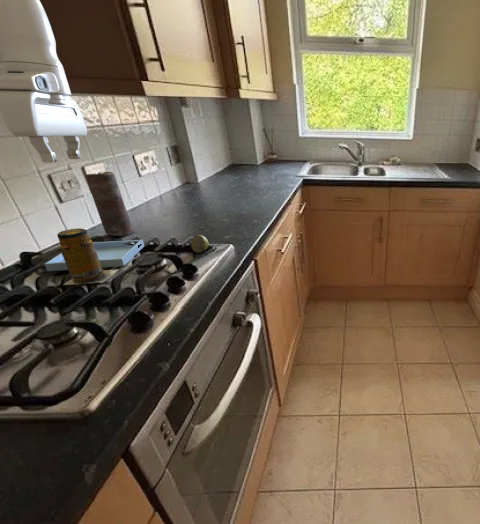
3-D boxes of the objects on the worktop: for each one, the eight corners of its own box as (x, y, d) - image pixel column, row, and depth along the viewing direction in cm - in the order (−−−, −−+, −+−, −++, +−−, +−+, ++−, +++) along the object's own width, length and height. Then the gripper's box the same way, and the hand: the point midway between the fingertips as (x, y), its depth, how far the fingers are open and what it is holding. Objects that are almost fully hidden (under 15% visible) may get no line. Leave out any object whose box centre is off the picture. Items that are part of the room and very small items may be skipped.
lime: (209, 253, 96) (205, 237, 94) (190, 254, 95) (187, 238, 93) (211, 247, 100) (208, 232, 98) (193, 249, 99) (190, 233, 96)
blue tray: (47, 271, 84) (44, 263, 83) (78, 250, 96) (75, 243, 95) (124, 266, 87) (121, 258, 86) (144, 246, 100) (142, 239, 99)
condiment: (82, 272, 84) (65, 227, 79) (119, 270, 85) (104, 225, 80) (63, 285, 77) (42, 237, 72) (103, 283, 78) (86, 236, 73)
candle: (102, 239, 104) (80, 174, 96) (108, 231, 110) (88, 170, 102) (131, 236, 107) (112, 173, 99) (135, 229, 113) (118, 169, 105)
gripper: (49, 90, 71) (71, 157, 76) (-25, 75, 53) (10, 165, 58) (84, 91, 72) (103, 157, 78) (24, 76, 54) (54, 164, 59)
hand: (63, 160), depth 67 cm, fingers open, 8 cm apart
